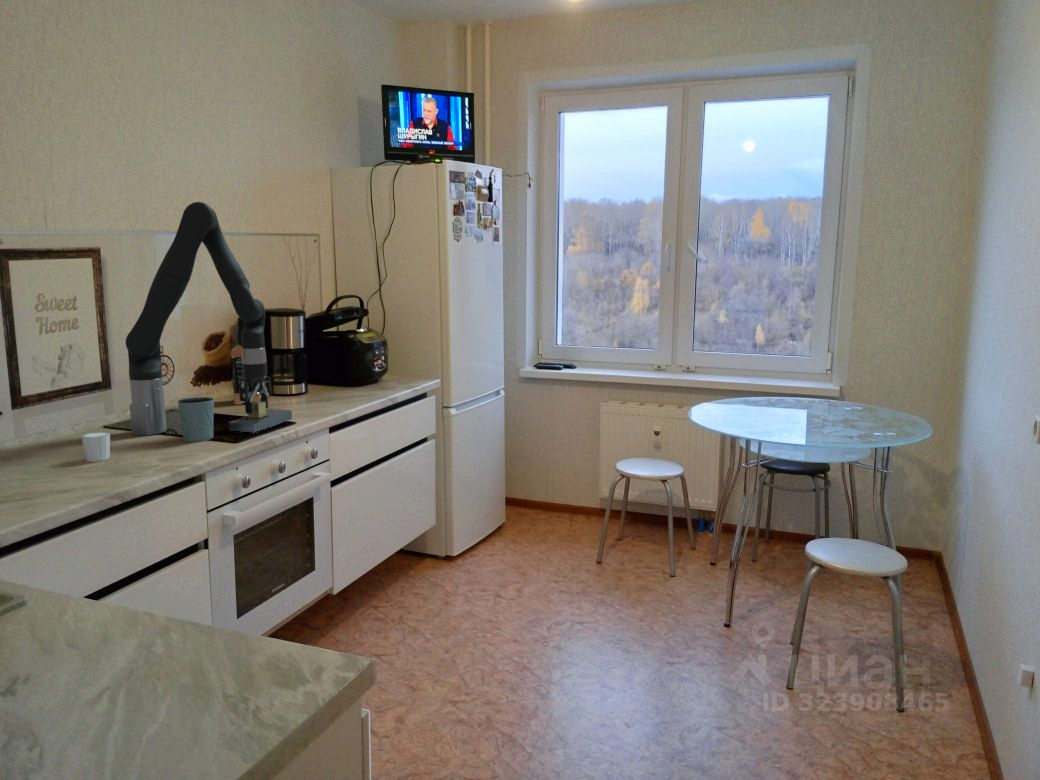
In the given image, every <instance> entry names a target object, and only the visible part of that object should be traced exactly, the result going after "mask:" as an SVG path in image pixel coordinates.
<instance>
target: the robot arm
mask: <svg viewBox="0 0 1040 780" xmlns="http://www.w3.org/2000/svg"><path fill="white" fill-rule="evenodd" d="M181 215H182V217H181V219H180V221H179V222H180V223H179V225H178V228H177V231H176V235H175V237H174V239H173V241H172V242H171V244H170V246H169V248H168V250H167V252H166V254H165V255H164V257H163V259H162V261H161V263H160V266H159V267H158V269H157V271H156V274H155V276H154V278H153V280H152V281H151V282H152V283H151V285H150V287H149V291H148V293H147V296H146V300H145V302H144V303H145V304H144V306H143V308H142V311H141V313H140V314H139V316H138V319H137V321H136V322H135V324H134V325H133V327H132V328H131V330H130V331H129V333H128V334H127V335H126V337H125V347H126V350H127V356H128V376H129V386H130V388H129V389H130V398H131V403H130V404H129V414H130V415H129V417H130V426H131V435H135V436H136V435H137V436H151V435H159V434H162V432H163V433H165V432H167V420H166V407H165V395H164V384H163V383H164V382H163V367H162V366H163V363H162V351H161V342H160V340H161V337H162V334H163V331H164V328H165V326H166V324H167V321H168V319H169V318H170V316H171V315H172V313H173V312H174V310H175V308H177V307H176V306H177V305H178V304H179V302H180V300H181V298H182V297H183V295H184V293H185V291H186V289H187V287H188V284H189V282H190V280H191V277H192V274H193V270H194V266H195V262H196V257H197V253H198V250H199V248H200V246H201V244H202V243H203V244H204V246H205V248H206V250H207V251H208V253H209V255H210V257H211V260H212V262H213V265H214V267H215V270H216V272H217V274H218V276H219V278H220V280H221V282H222V284H223V286H224V288H225V289H226V290H227V292H228V294H229V298H230V300H231V303H232V305H233V308H234V311H235V313H236V314H237V316H238V318H239V317H240V318H241V319H242V320H243V321H244V329H243V331H242V333H241V344H242V354H241V357H242V373H243V376H244V377H245V378H246V382H245V383H244V382H240V383H239V389H240V401H244V402H245V404H244V407H245V408H244V411H245V414H247V415H248V414H252V413H253V405H252V400H253V397H254V396H255V395H256V393H259V394H260V396H261V401H264V402H266V409H269V401H268V400H269V396H270V395H272V394H273V390H272V377H271V376H267V375H268V364H267V353H266V346H265V345H266V344H265V333H264V332H265V325H266V323H265V321H266V310H265V306H264V304H263V302H262V301H260V300H259V299H258V298H254V297H253V294H252V292H251V290H250V287H251V286H250V282H249V280H248V278H247V277H246V275H245V273H244V271H243V268H242V267H241V266H240V264H239V262H238V261H237V259H236V257H235V256H234V254H233V252H232V251H231V249H230V247H229V245H228V243H227V241H226V239H225V236H224V234H223V232H222V228H221V226H220V225H221V224H220V223H219V220H218V215H217V213H216V211H215V210H214V209H213V208H212V207H211V206H210V205H209V204H206V203H205V202H202V201H195V202H192V203H190V204H188V205H187V206H186V207H185V208H184V211H183V212H182V214H181ZM243 394H245V396H244V397H243ZM249 396H250V398H249Z"/></svg>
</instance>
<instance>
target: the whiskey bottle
mask: <svg viewBox="0 0 1040 780" xmlns="http://www.w3.org/2000/svg"><path fill="white" fill-rule="evenodd" d="M237 327H238V328H237V342H238V343H237V345H236V346H235V347H233V348H232V350H231V351H230V357H231V358H232V375H233V376H232V377H233V381H232V382H233V394H232V402H233V403H234V404H233V403H232V404H233V405H243V404H242V403H245V402H244V401H240V389H239V383H240V382H244V383H245V382H246V378H245V377H244V376H243V373H242V357H241V354H242V344H241V333H242V331H243V329H244V321H243V320H242V319H241V318H240V317H239V316H238V317H237ZM244 396H245V394H243V397H244ZM249 398H250V396H249ZM253 401H261V396H260V394H259V393H256V395H255V396H254V397H253V400H252V402H253ZM240 403H241V404H240Z"/></svg>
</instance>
